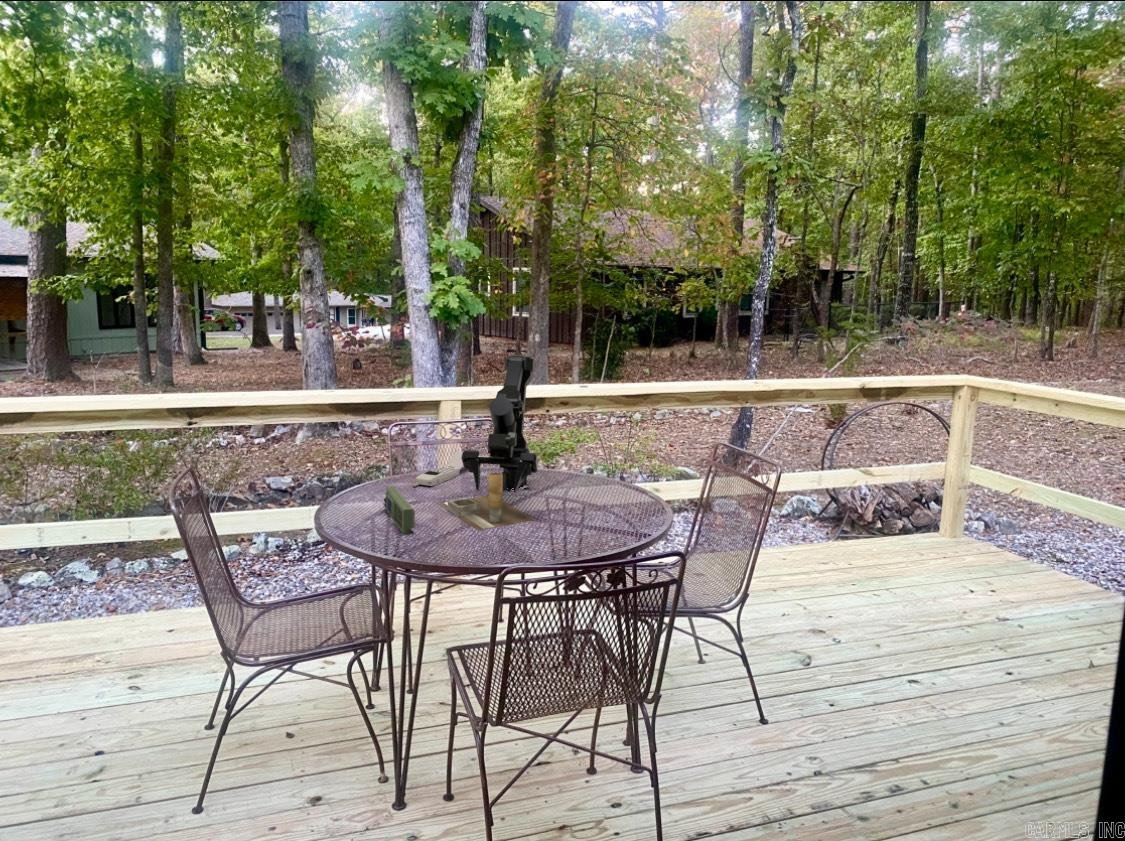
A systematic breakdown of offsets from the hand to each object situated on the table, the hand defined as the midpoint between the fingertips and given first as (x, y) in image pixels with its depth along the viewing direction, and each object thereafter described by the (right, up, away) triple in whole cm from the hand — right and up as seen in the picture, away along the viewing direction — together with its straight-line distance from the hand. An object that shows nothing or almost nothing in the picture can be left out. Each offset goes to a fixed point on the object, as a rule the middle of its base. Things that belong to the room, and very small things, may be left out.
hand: (495, 491), depth 180 cm
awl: (0, -8, +1) cm, 8 cm away
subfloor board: (-3, -8, +9) cm, 12 cm away
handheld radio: (-26, -8, +7) cm, 28 cm away
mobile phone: (-20, -1, +42) cm, 47 cm away
